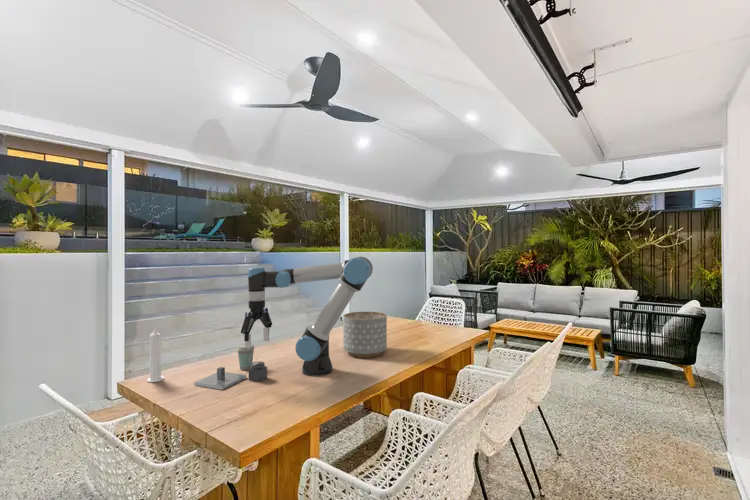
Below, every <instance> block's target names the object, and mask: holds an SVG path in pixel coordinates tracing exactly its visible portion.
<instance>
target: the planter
mask: <svg viewBox="0 0 750 500" xmlns="http://www.w3.org/2000/svg"><path fill="white" fill-rule="evenodd" d="M342 318H343V320H342V321H343V322H342V323H343V326H342V328H343V329H342V330H343V331H342V332H343V334H342V335H343V337H342V338H343V347H342V348H343V350H344V351H345V352H346V353H347V354H348V355H349V356H350V357H354V358H359V359H363V358H364V359H367V358H368V359H369V358H375V357H379V356H381V355H383V352H385V351H386V350H387V337H388V336H387V323H388V322H387V314H386V313H383V312H377V311H354V312H352V311H351V312H348V313H345V314H343V316H342Z"/></svg>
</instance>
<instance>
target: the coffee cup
mask: <svg viewBox="0 0 750 500" xmlns="http://www.w3.org/2000/svg"><path fill="white" fill-rule="evenodd" d="M236 350H237V356H238V362H239V369H240V370H241V371H249V368H251V363H253V362H254V361H253V359H254V352H255V346H254V344H252V343H251V348H245V343H242V344H239V345H237V348H236Z"/></svg>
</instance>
